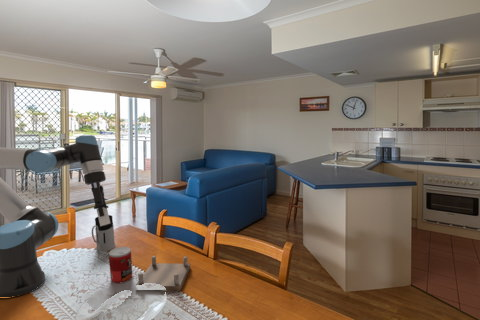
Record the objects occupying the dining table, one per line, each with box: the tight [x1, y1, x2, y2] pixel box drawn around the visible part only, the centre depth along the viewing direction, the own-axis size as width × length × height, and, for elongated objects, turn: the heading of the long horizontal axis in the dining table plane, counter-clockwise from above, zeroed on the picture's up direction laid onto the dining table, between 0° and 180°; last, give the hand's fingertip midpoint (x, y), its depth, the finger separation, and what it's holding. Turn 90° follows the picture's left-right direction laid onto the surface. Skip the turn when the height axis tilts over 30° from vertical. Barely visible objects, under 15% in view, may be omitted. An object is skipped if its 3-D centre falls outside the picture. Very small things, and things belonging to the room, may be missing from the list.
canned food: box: [108, 246, 133, 284], centre depth 107 cm, size 8×8×11 cm
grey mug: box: [91, 214, 117, 252], centre depth 132 cm, size 9×14×15 cm, turn 176°
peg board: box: [135, 255, 191, 293], centre depth 106 cm, size 16×16×6 cm
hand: (105, 224), depth 110 cm, fingers open, 13 cm apart
